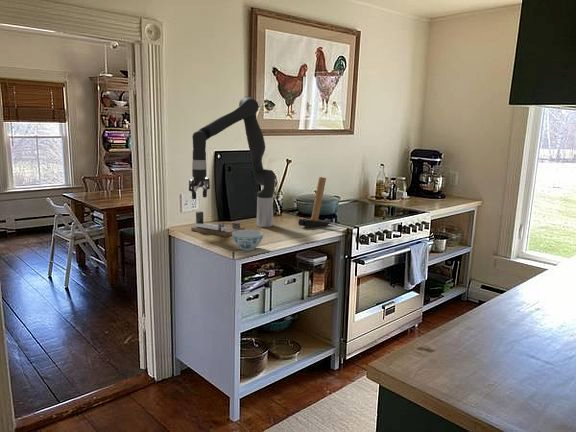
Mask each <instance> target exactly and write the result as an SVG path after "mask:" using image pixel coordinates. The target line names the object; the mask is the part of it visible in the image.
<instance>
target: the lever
mask: <svg viewBox="0 0 576 432" xmlns="http://www.w3.org/2000/svg"><path fill="white" fill-rule="evenodd" d="M207 223H208V222H204V211H196V212H195V226H197V227H202V228H208V229H214V230H219V231H225V230H226V227H225V226H224V224H225V222H221V221H220V222H217V223H218V225H213V224H207Z"/></svg>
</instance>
